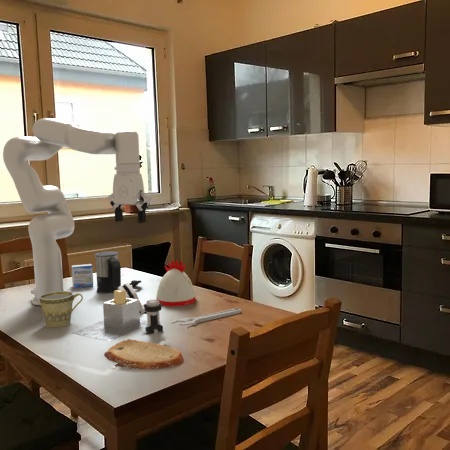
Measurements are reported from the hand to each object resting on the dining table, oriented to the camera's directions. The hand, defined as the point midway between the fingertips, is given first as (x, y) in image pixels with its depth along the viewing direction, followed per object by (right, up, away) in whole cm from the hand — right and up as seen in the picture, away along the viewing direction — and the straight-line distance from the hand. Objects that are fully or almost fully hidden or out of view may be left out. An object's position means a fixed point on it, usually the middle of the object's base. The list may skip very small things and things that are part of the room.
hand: (130, 221), depth 170 cm
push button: (+10, -33, -20) cm, 40 cm away
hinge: (0, -30, +6) cm, 31 cm away
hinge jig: (-2, -33, -15) cm, 36 cm away
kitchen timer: (+13, -29, +16) cm, 35 cm away
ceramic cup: (-19, -32, -9) cm, 39 cm away
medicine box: (-27, -26, +40) cm, 55 cm away
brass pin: (-1, -31, -12) cm, 33 cm away
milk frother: (-11, -27, +34) cm, 45 cm away
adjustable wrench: (+26, -32, -6) cm, 41 cm away
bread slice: (+10, -36, -37) cm, 52 cm away
